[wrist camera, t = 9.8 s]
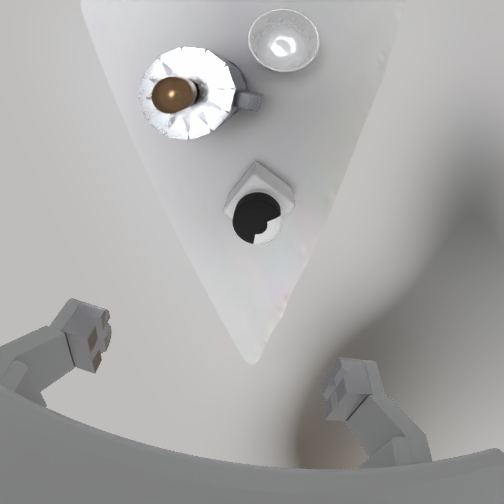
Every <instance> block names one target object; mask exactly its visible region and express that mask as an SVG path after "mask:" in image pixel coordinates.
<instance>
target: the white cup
mask: <svg viewBox="0 0 504 504" xmlns="http://www.w3.org/2000/svg"><path fill="white" fill-rule="evenodd" d="M248 45H249V49H250V51H251V53H252V55H253V56H254V58H255V59H256V60H257V61H258V62H259V63H260V64H262V65H263V66H265V67H266V68H268V69H271V70H273V71H277V72H292V71H296V70H299V69H302V68H304V67H305V66H307V65H308V64H309V63H310V62H311V61H312V60H313V59H314V58H315V56H316V55H317V52H318V50H319V45H320V38H319V34H318V31H317V28H316V27H315V25H314V24H313V22H312V21H311V20H310V19H309V18H308V17H306V16H305V15H303V14H302V13H300V12H298V11H295V10H291V9H274V10H270V11H267V12H265V13H263V14H262V15H260V16H259V17H258V18H257V19H256V20H255V21H254V22H253V24H252V25H251V27H250V30H249V33H248Z"/></svg>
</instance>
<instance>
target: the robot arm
mask: <svg viewBox="0 0 504 504" xmlns="http://www.w3.org/2000/svg"><path fill="white" fill-rule="evenodd" d="M109 318H110V315H109V311H108V310H107V309H104V308H100V307H98V306H95V305H91V304H88V303H85V302H82V301H79V300H76V299H73V298H71V299H69V300H68V301H67V303H66V304H65V305H64V307H63V308H62V309H61V311H60V312H59V314H58V315H57V316H56V318H55V319H54V321H53V322H52V324H51V325H50V326H49V327H48V326H44V327H42V328H40V329H38V330H36V331H33V332H31V333H29V334H27V335H25V336H22V337H20V338H18V339H16V340H14V341H12V342H9V343H7V344H5V345H3V346H1V347H0V504H504V453H503V452H502V451H501V450H500V449H497V448H493V449H489V450H485V451H481V452H477V453H473V454H468V455H464V456H459V457H454V458H449V459H444V460H438V461H432V458H431V454H430V450H429V446H428V442H427V438H426V435H425V434H424V432H423V431H422V430H421V429H420V428H419V427H418V426H417V425H416V424H415V423H414V422H413V421H412V420H411V419H410V418H409V417H408V416H407V415H406V414H405V413H404V412H403V410H401V408H400V407H398V405H397V404H396V403H395V402H394V401H393V400H392V399H391V398H390V397H389V396H385V393H384V390H383V385H382V382H381V379H380V375H379V371H378V367H377V364H376V363H375V361H367V360H357V359H348V358H339V357H338V358H336V359H335V360H334V362H333V363H332V366H333V369H331V370H329V371H328V372H327V373H326V375H325V377H324V380H323V384H322V394H323V396H324V397H325V399H326V400H327V401H326V402H325V404H324V413H325V420H334V421H346V424H347V425H348V427H349V428H350V429H351V431H352V432H353V434H354V435H355V437H356V438H357V440H358V441H359V443H360V444H361V446H362V447H363V449H364V450H365V452H366V453H367V454H368V456H369V457H370V458H369V459H367V460H366V461H365V462H364V463H362V464H361V465H360V466H359V469H338V470H337V469H336V470H329V469H328V470H327V469H326V470H325V469H293V468H279V467H267V466H257V465H249V464H241V463H233V462H227V461H221V460H215V459H208V458H203V457H198V456H193V455H188V454H184V453H179V452H175V451H171V450H166V449H162V448H158V447H154V446H151V445H147V444H143V443H140V442H136V441H133V440H130V439H127V438H123V437H120V436H117V435H114V434H111V433H108V432H105V431H102V430H99V429H97V428H94V427H91V426H89V425H86V424H83V423H81V422H78V421H76V420H73V419H71V418H68V417H66V416H64V415H61V414H59V413H57V412H54V411H52V410H50V409H48V408H46V406H47V405H46V402H45V401H44V399H43V397H42V395H41V393H40V392H41V391H42V390H43V389H45V388H46V387H48V386H49V385H51V384H52V383H53V382H55V381H57V380H58V379H59V378H61V377H62V376H64V375H65V374H66V373H68V372H70V371H71V370H72V369H74V367H77V368H80V369H83V370H86V371H89V372H92V373H96V371H97V368H98V366H99V364H100V362H101V360H102V359H101V353H103V352H105V351H106V350H107V348H108V346H109V343H110V339H111V326H110V325H109V324H108V320H109Z"/></svg>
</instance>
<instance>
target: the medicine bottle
mask: <svg viewBox="0 0 504 504" xmlns="http://www.w3.org/2000/svg"><path fill="white" fill-rule="evenodd" d="M294 206H295V202H294V197H293V192H292V188H291V187H290V186H288V185H287V184H286V183H285V182H283V181H282V180H281V179H279V178H278V177H277V176H275V175H274V174H273V173H271V172H270V171H269V170H267V169H266V168H265V167H264V166H262V165H261V164H260V163H258V162H254V163H253V165H252V166H251V167H250V168H249V170H248V171H247V172H246V173H245V175H244V176H243V177H242V178H241V180H240V181H239V182H238V183H237V185H236V186H235V187H234V188H233V190H232V191H231V192H230V194H229V195H228V198H227V201H226V204H225V207H224V210H223V213H224V214H225V215H226V216H227V217H229V218H230V219H232V220H233V227H234V230H235V232H236V233H237V235H238V236H239V237H240V238H241V239H243V240H244V241H246V242H249V243H252V244H263V243H267V242H269V241H271V240H273V239H274V238H275V237H276V236H277V235H278V234H279V232H280V230H281V227H282V220H283V219H284V218H285V217H286V215H287V214H288V213H289V212H290V211H291V210H292V209H293V208H294Z"/></svg>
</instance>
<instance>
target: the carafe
mask: <svg viewBox="0 0 504 504" xmlns="http://www.w3.org/2000/svg"><path fill="white" fill-rule="evenodd" d="M144 76H145V77H146V78H142V82H141V88H140V94H139V99H142V100H141V101H139V102H140V105H141V107H142V110H143V113H144V115H145V118H146V120H149V119H150V121H149V122H148V123H149V124H150V125H152V126H153V127H154V128H155V129H157V130H158V131H159V132H160V133H162V134H163V135H166V134H167V137H172V138H178V139H184V140H188V139H190V140H191V139H194V138H197V137H200V136H203V135H206V134H208V133H211V132H212V131H214V130H216V129H217V128H218V127H219V126H220V125H221V124H223V123H224V122H225V121H226V120H227V119H228V118H230V117H231V116H232V115H233V114H235V113H236V112H237V111H238V110H239V109H240V108H243V109H248V110H253V111H258V109H259V107H260V104H261V100H262V96H263V94H259V93H255V92H250V91H247V84H246V80H245V77H244V75H243V73H242V72H241V70H240V69H239V68H238V67H237V66H236V65H234V64H233V63H231V62H230V61H228V60H226V59H224V58H222V57H220V56H219V55H217V54H215V53H213V52H211V51H209V50H206V49H200V48H191V47H183V48H181V47H179V48H177V49H174V50H172V51H170V52H167V53H165V54H163V55H160V58H156V60H155V61H154V62H153V63H152V65H151V66H150V67H149V68H148V70H147V71H146V72H145V74H144ZM166 77H185V78H188V79H192V80H193V81H194V82H195V83H197V84H198V87H199V90H200V94H199V99H198V100H197V101H196V103H195V104H194V105H192V106H190V107H189V108H187V109H185V110H182V111H179V112H177V113H173V114H165V113H162V112H160V111H159V110H157V109H156V108H155V106H154V104H153V102H152V90H153V88H154V86H155V85H156V83H157V82H159V81H160V80H161V79H163V78H166Z"/></svg>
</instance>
